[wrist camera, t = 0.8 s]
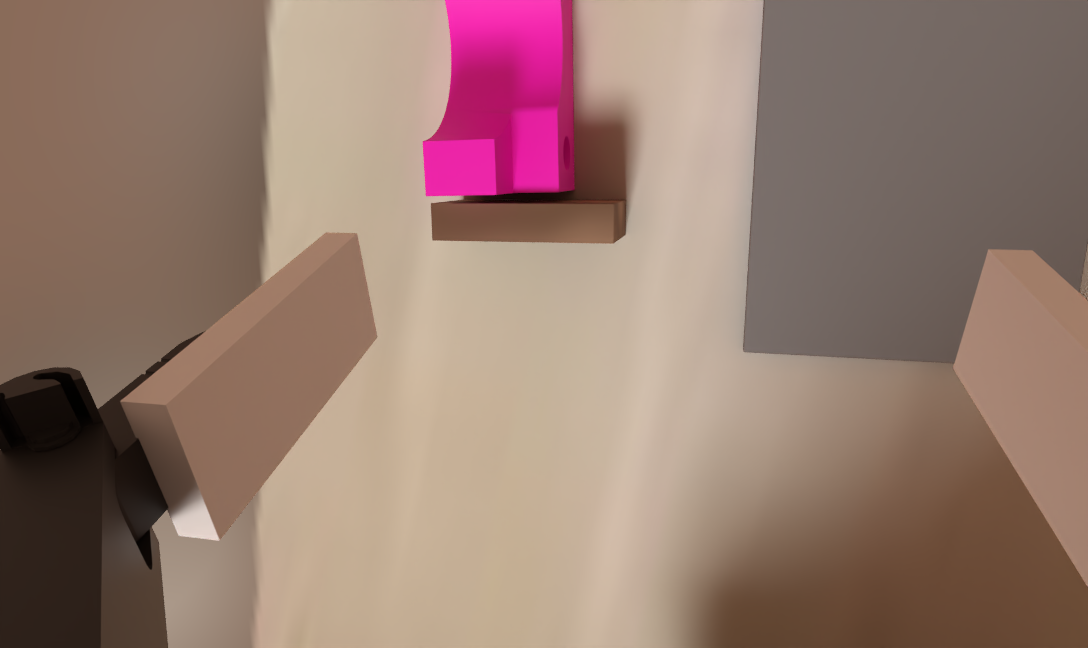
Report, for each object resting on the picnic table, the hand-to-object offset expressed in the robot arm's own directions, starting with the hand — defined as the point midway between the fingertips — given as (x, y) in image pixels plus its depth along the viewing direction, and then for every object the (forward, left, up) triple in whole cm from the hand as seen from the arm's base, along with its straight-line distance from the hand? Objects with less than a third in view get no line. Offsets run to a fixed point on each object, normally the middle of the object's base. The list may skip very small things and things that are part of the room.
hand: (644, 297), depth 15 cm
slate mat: (+4, -11, -25) cm, 28 cm away
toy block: (+9, +10, -26) cm, 29 cm away
